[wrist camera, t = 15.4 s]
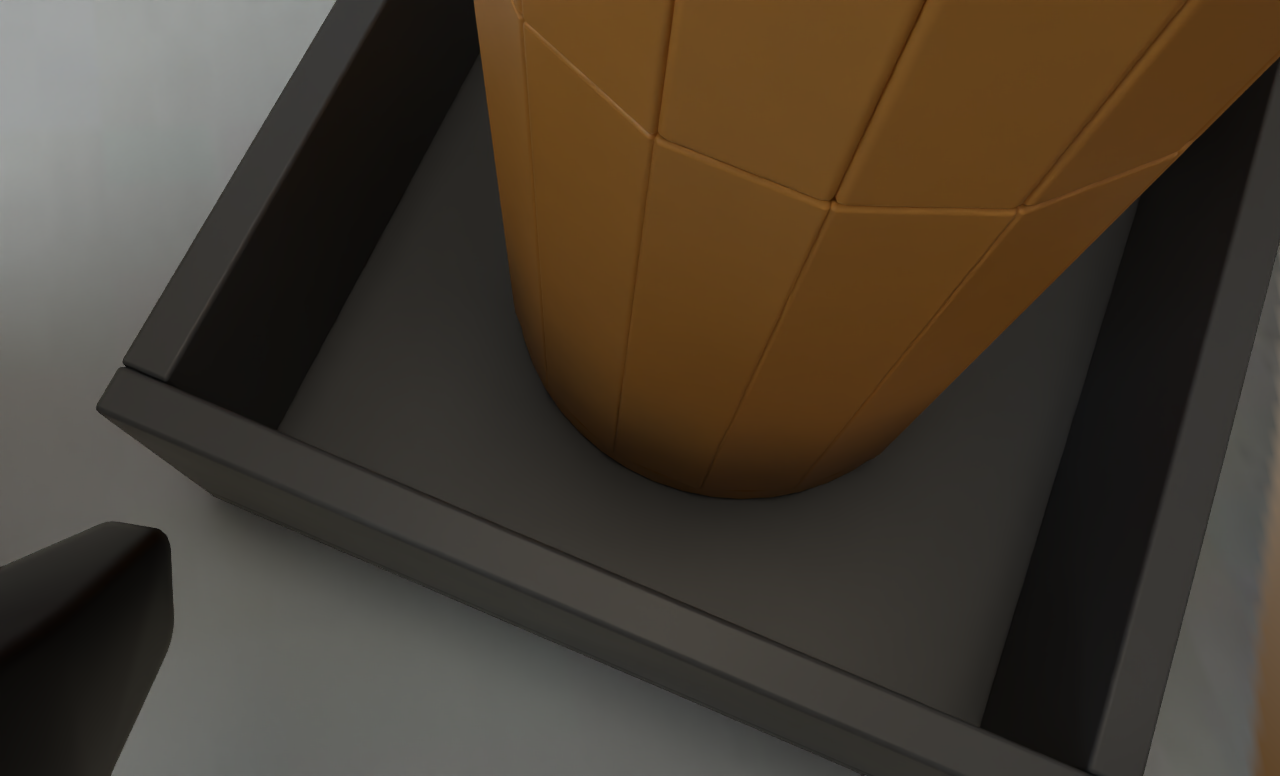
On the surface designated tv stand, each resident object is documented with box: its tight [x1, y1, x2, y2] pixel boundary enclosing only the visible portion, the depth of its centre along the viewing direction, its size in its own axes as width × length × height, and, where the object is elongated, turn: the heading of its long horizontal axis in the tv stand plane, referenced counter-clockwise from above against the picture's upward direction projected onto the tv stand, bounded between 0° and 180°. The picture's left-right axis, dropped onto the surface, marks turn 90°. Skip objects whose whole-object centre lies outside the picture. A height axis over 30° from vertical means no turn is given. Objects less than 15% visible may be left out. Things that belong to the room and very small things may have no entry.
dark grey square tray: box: [96, 0, 1280, 776], centre depth 17 cm, size 12×12×4 cm
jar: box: [474, 0, 1280, 499], centre depth 12 cm, size 7×7×12 cm
